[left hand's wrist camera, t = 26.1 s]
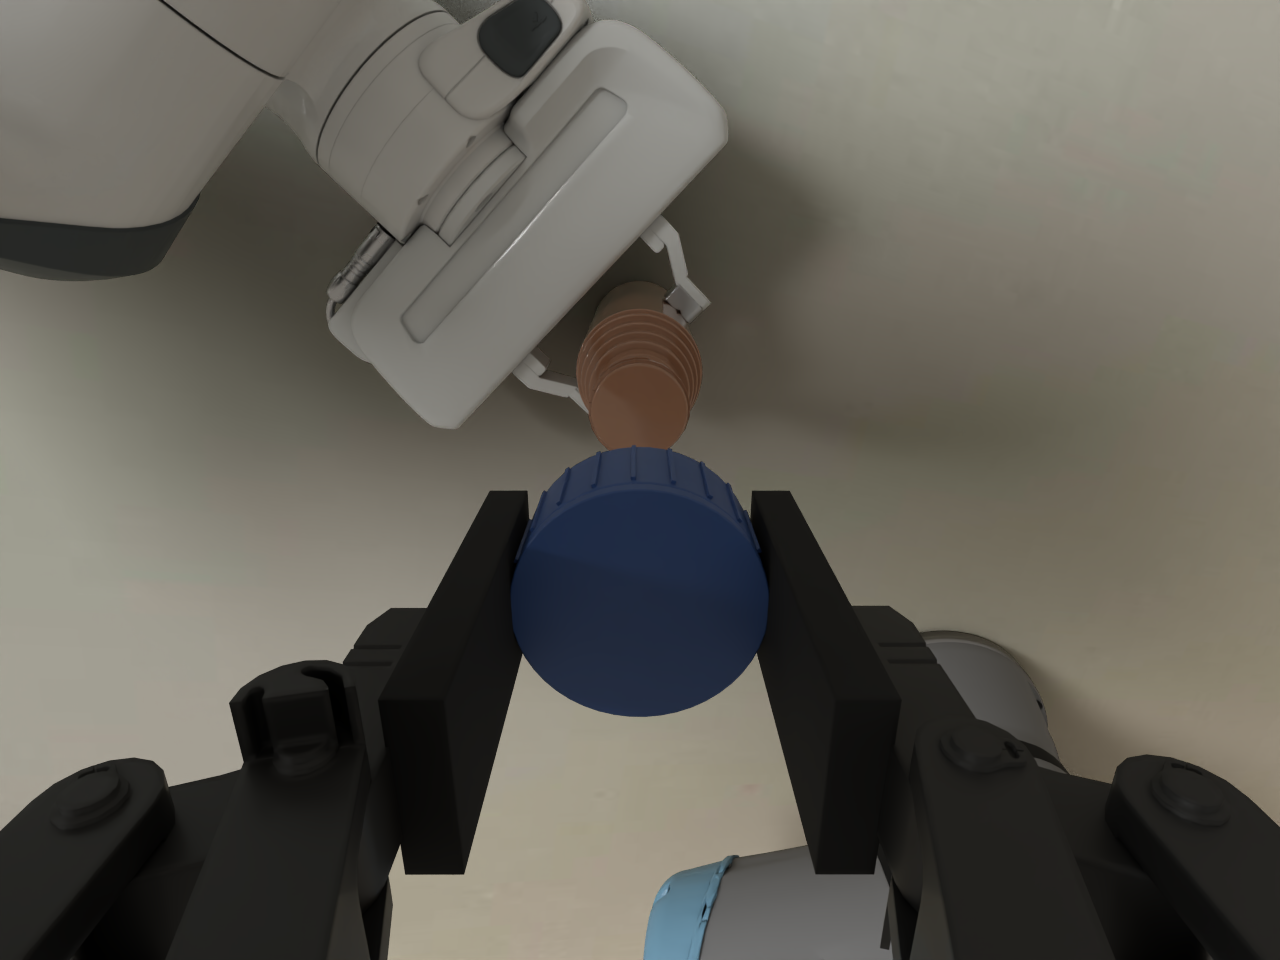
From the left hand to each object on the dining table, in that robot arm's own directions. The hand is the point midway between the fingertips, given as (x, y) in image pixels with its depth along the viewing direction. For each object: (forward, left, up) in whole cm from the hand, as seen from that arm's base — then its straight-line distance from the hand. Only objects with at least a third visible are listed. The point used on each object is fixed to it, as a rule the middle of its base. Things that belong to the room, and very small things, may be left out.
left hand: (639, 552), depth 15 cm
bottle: (0, 0, -29) cm, 29 cm away
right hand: (-1, 0, -23) cm, 23 cm away
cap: (0, 0, +2) cm, 2 cm away
